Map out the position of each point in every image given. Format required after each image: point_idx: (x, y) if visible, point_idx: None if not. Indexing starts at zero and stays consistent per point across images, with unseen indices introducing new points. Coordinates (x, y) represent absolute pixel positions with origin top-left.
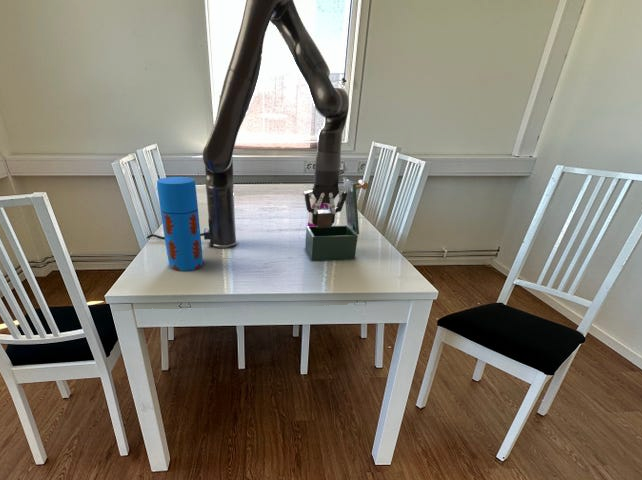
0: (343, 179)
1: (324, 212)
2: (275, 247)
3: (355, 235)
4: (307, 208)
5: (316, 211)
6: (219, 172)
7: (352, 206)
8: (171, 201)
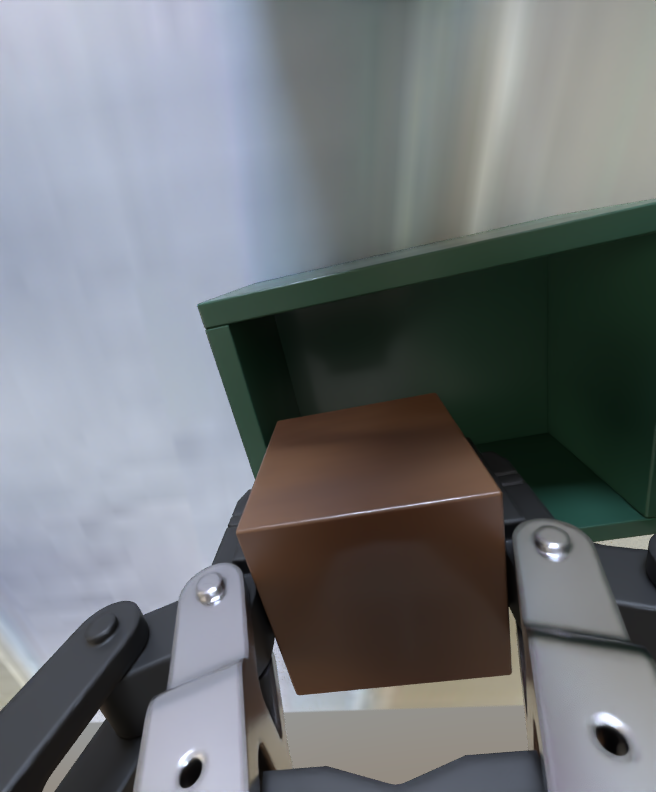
0: None
1: (390, 653)
2: (47, 276)
3: (649, 526)
4: (96, 744)
5: (261, 683)
6: None
7: None
8: None
